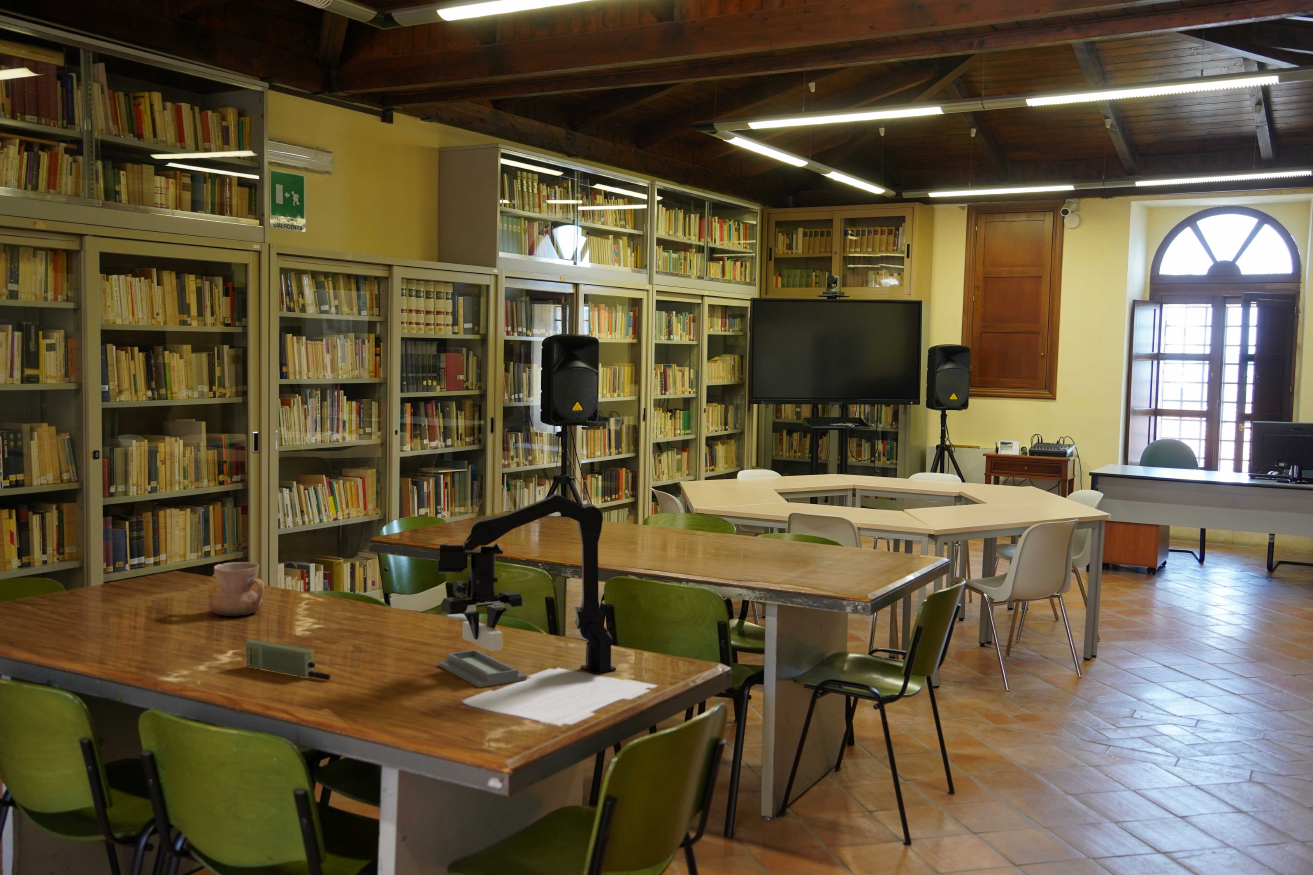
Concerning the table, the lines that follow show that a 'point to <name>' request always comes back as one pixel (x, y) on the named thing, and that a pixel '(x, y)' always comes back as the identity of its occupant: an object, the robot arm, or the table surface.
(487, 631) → the white long block
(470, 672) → the grey rectangular tray
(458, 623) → the table surface
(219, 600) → the pink mug
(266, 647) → the handheld radio
